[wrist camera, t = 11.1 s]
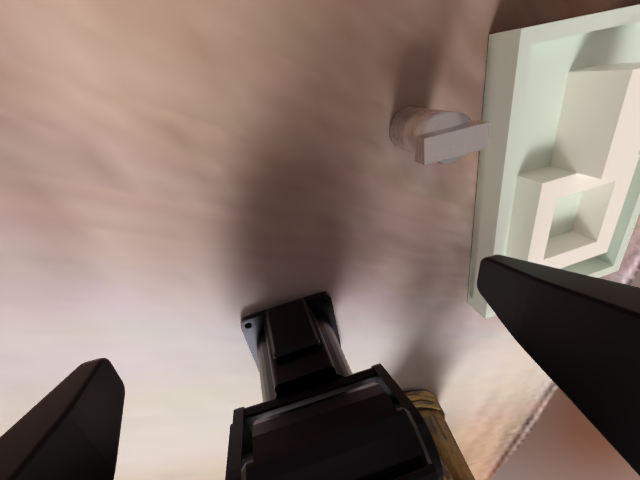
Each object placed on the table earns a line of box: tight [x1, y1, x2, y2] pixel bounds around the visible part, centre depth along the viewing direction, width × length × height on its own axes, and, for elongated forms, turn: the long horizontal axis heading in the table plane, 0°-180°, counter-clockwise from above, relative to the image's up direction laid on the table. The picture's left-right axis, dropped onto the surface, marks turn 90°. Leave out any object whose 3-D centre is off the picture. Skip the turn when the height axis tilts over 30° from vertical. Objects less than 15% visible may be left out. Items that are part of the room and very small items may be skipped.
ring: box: [505, 62, 640, 269], centre depth 21 cm, size 14×8×4 cm, turn 10°
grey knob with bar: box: [390, 107, 491, 165], centre depth 16 cm, size 2×3×5 cm
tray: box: [467, 4, 640, 319], centre depth 22 cm, size 20×14×2 cm
